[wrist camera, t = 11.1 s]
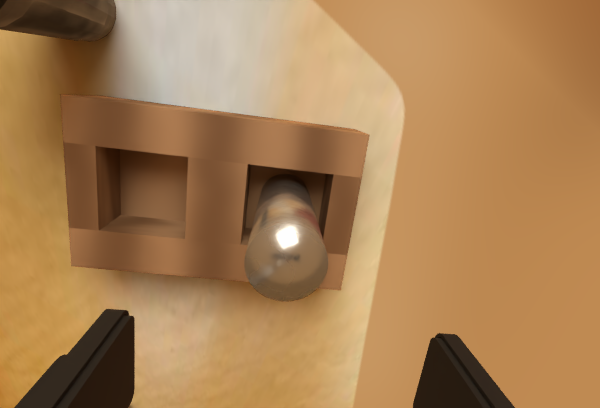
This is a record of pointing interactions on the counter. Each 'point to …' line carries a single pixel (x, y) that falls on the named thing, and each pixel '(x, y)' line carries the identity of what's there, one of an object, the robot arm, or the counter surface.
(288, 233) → the steel pin
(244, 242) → the walnut block
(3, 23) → the beverage cup
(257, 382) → the counter surface
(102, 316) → the robot arm
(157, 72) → the counter surface
